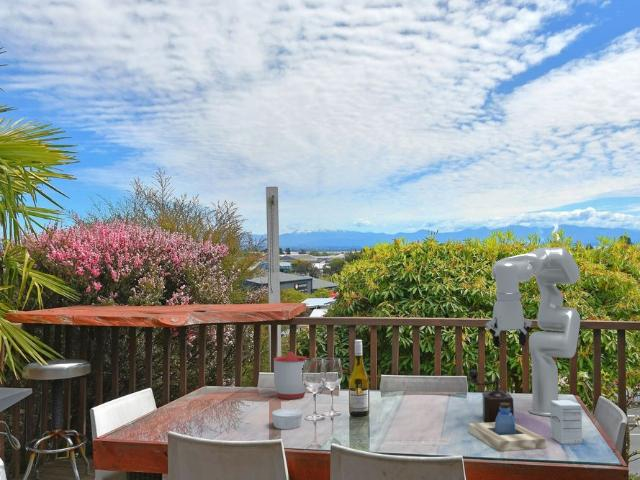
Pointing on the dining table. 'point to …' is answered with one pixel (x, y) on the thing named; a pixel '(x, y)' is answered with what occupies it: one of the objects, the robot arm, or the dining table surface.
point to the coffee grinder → (492, 399)
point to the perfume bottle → (504, 421)
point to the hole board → (507, 437)
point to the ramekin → (287, 418)
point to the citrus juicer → (289, 376)
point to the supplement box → (566, 422)
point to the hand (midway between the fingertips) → (509, 346)
